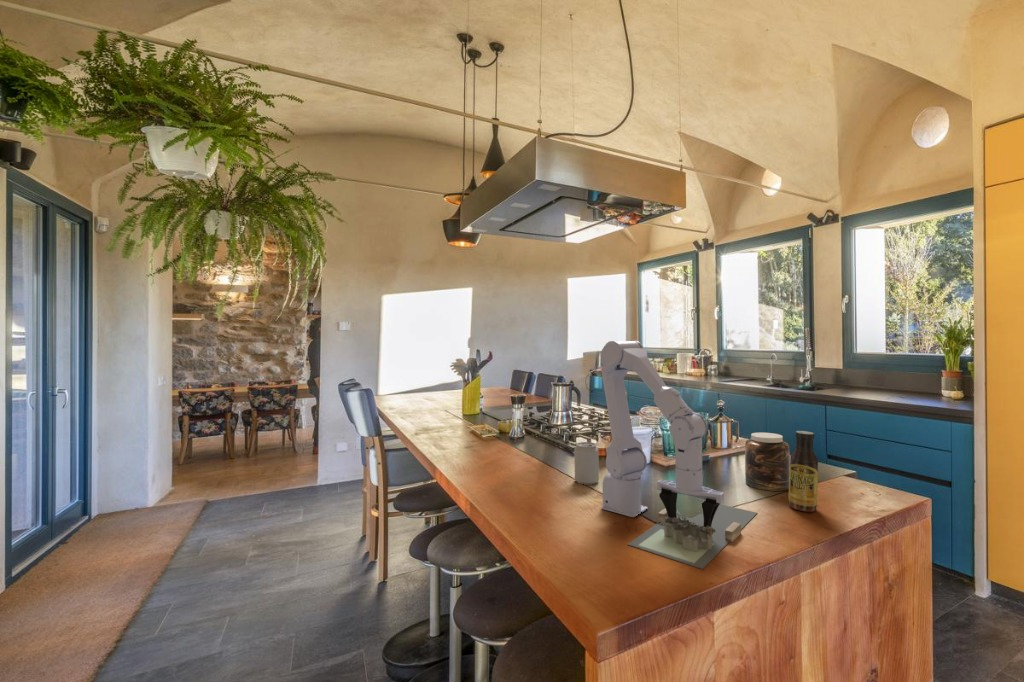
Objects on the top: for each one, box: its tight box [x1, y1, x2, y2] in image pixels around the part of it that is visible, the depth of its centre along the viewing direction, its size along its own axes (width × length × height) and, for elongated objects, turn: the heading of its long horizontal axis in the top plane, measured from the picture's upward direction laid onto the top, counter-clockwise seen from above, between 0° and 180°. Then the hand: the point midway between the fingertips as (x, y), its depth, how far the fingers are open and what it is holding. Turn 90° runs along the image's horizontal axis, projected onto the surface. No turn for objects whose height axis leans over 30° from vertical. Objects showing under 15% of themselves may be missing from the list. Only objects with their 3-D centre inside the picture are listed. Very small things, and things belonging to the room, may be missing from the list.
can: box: [573, 441, 600, 486], centre depth 143 cm, size 8×8×12 cm
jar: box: [744, 432, 791, 492], centre depth 137 cm, size 12×12×15 cm
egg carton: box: [662, 517, 715, 551], centre depth 100 cm, size 11×8×4 cm
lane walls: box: [657, 507, 742, 543], centre depth 107 cm, size 17×6×2 cm, turn 47°
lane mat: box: [627, 503, 758, 570], centre depth 107 cm, size 16×37×1 cm, turn 137°
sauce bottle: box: [788, 430, 819, 513], centre depth 118 cm, size 7×6×20 cm
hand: (689, 527), depth 104 cm, fingers open, 7 cm apart
